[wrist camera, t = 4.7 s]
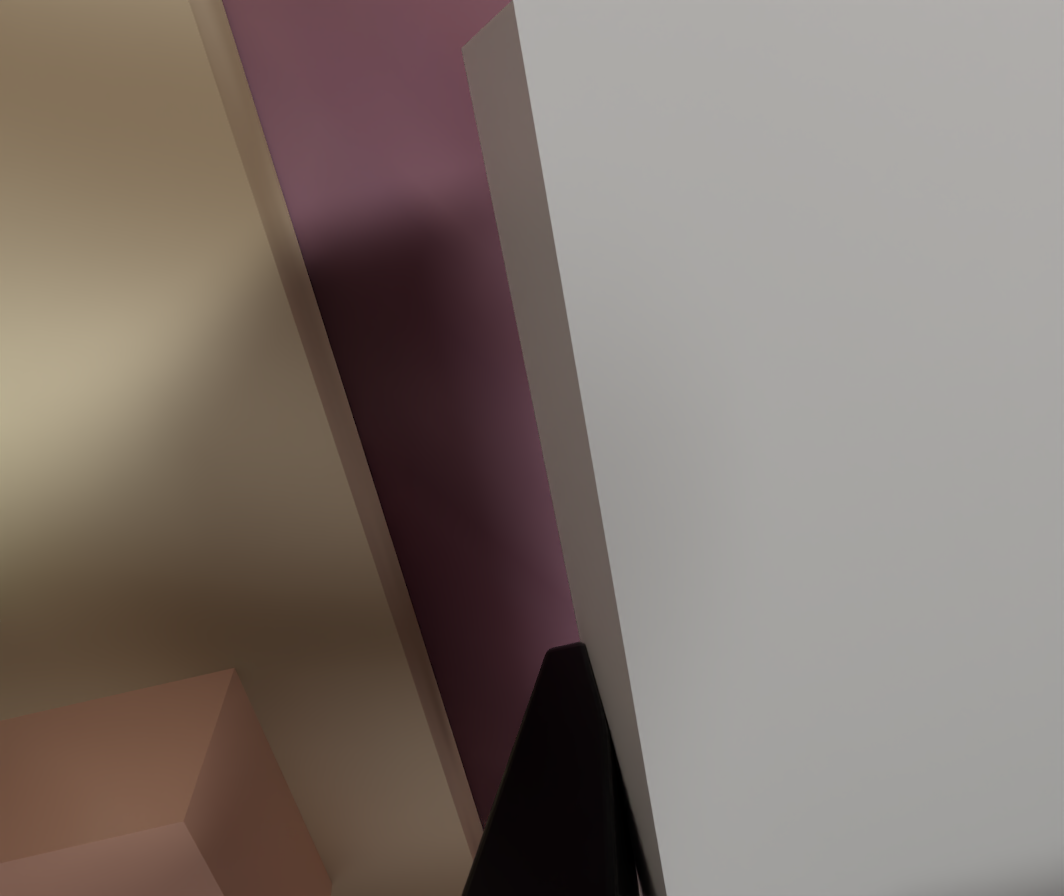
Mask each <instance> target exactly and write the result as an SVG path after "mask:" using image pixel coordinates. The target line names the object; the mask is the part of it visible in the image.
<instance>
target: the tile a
mask: <svg viewBox="0 0 1064 896" xmlns="http://www.w3.org/2000/svg"><path fill="white" fill-rule="evenodd" d="M331 890H332V882H331V880H330V878H329V875H328V873H327V871H326V869H325V866H324V864H323V862H322V860H321V858H320V855H319V853H318V851H317V849H316V847H315V844H314V842H313V840H312V838H311V836H310V833H309V831H308V829H307V827H306V824H305V822H304V820H303V818H302V816H301V813H300V811H299V809H298V807H297V805H296V802H295V800H294V798H293V796H292V793H291V791H290V789H289V787H288V785H287V782H286V780H285V778H284V776H283V774H282V771H281V769H280V767H279V765H278V763H277V760H276V758H275V756H274V754H273V751H272V749H271V747H270V745H269V743H268V740H267V738H266V736H265V734H264V732H263V729H262V727H261V725H260V723H259V720H258V718H257V716H256V714H255V712H254V709H253V707H252V705H251V703H250V701H249V698H248V696H247V694H246V692H245V690H244V687H243V685H242V683H241V681H240V678H239V676H238V674H237V672H236V670H235V668H231V669H227V670H223V671H218V672H214V673H209V674H205V675H200V676H196V677H192V678H187V679H183V680H178V681H174V682H169V683H165V684H161V685H156V686H152V687H147V688H143V689H138V690H134V691H130V692H125V693H121V694H116V695H112V696H107V697H103V698H99V699H94V700H90V701H85V702H81V703H76V704H72V705H68V706H63V707H59V708H54V709H50V710H45V711H41V712H37V713H32V714H28V715H23V716H19V717H14V718H10V719H6V720H1V721H0V896H331Z"/></svg>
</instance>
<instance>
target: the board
mask: <svg viewBox="0 0 1064 896" xmlns="http://www.w3.org/2000/svg"><path fill="white" fill-rule="evenodd" d="M231 668H235V670H236V672H237V674H238V676H239V678H240V681H241V683H242V685H243V687H244V690H245V692H246V694H247V696H248V698H249V701H250V703H251V705H252V707H253V709H254V712H255V714H256V716H257V718H258V720H259V723H260V725H261V727H262V729H263V732H264V734H265V736H266V738H267V740H268V743H269V745H270V747H271V749H272V751H273V754H274V756H275V758H276V760H277V763H278V765H279V767H280V769H281V771H282V774H283V776H284V778H285V780H286V782H287V785H288V787H289V789H290V791H291V793H292V796H293V798H294V800H295V802H296V805H297V807H298V809H299V811H300V813H301V816H302V818H303V820H304V822H305V824H306V827H307V829H308V831H309V833H310V836H311V838H312V840H313V842H314V844H315V847H316V849H317V851H318V853H319V855H320V858H321V860H322V862H323V864H324V866H325V869H326V871H327V873H328V875H329V878H330V880H331V882H332V890H331V896H461V895H462V892H463V889H464V886H465V883H466V880H467V877H468V875H469V872H470V869H471V866H472V863H473V860H474V857H475V854H476V852H477V849H478V846H479V843H480V840H481V837H482V834H483V828H482V825H481V822H480V819H479V816H478V813H477V809H476V806H475V803H474V800H473V797H472V793H471V790H470V787H469V784H468V781H467V778H466V774H465V771H464V768H463V765H462V762H461V759H460V755H459V752H458V749H457V746H456V743H455V739H454V736H453V733H452V730H451V727H450V724H449V720H448V717H447V714H446V711H445V708H444V705H443V701H442V698H441V695H440V692H439V689H438V686H437V682H436V679H435V676H434V673H433V670H432V666H431V663H430V660H429V657H428V654H427V651H426V647H425V644H424V641H423V638H422V635H421V632H420V628H419V625H418V622H417V619H416V616H415V613H414V609H413V606H412V603H411V600H410V597H409V593H408V590H407V587H406V584H405V581H404V578H403V574H402V571H401V568H400V565H399V562H398V559H397V555H396V552H395V549H394V546H393V543H392V540H391V536H390V533H389V530H388V527H387V524H386V520H385V517H384V514H383V511H382V508H381V505H380V501H379V498H378V495H377V492H376V489H375V486H374V482H373V479H372V476H371V473H370V470H369V466H368V463H367V460H366V457H365V454H364V451H363V447H362V444H361V441H360V438H359V435H358V432H357V428H356V425H355V422H354V419H353V416H352V413H351V409H350V406H349V403H348V400H347V397H346V393H345V390H344V387H343V384H342V381H341V378H340V374H339V371H338V368H337V365H336V362H335V359H334V355H333V352H332V349H331V346H330V343H329V340H328V336H327V333H326V330H325V327H324V324H323V320H322V317H321V314H320V311H319V308H318V305H317V301H316V298H315V295H314V292H313V289H312V286H311V282H310V279H309V276H308V273H307V270H306V267H305V263H304V260H303V257H302V254H301V251H300V247H299V244H298V241H297V238H296V235H295V232H294V228H293V225H292V222H291V219H290V216H289V213H288V209H287V206H286V203H285V200H284V197H283V194H282V190H281V187H280V184H279V181H278V178H277V174H276V171H275V168H274V165H273V162H272V159H271V155H270V152H269V149H268V146H267V143H266V140H265V136H264V133H263V130H262V127H261V124H260V120H259V117H258V114H257V111H256V108H255V105H254V101H253V98H252V95H251V92H250V89H249V86H248V82H247V79H246V76H245V73H244V70H243V67H242V63H241V60H240V57H239V54H238V51H237V47H236V44H235V41H234V38H233V35H232V32H231V28H230V25H229V22H228V19H227V16H226V13H225V9H224V6H223V3H222V0H0V721H1V720H6V719H10V718H14V717H19V716H23V715H28V714H32V713H37V712H41V711H45V710H50V709H54V708H59V707H63V706H68V705H72V704H76V703H81V702H85V701H90V700H94V699H99V698H103V697H107V696H112V695H116V694H121V693H125V692H130V691H134V690H138V689H143V688H147V687H152V686H156V685H161V684H165V683H169V682H174V681H178V680H183V679H187V678H192V677H196V676H200V675H205V674H209V673H214V672H218V671H223V670H227V669H231Z"/></svg>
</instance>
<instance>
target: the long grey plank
mask: <svg viewBox="0 0 1064 896" xmlns="http://www.w3.org/2000/svg"><path fill="white" fill-rule="evenodd" d="M461 50H462V55H463V60H464V65H465V70H466V75H467V80H468V84H469V89H470V94H471V99H472V104H473V109H474V114H475V119H476V124H477V129H478V134H479V139H480V144H481V149H482V154H483V159H484V164H485V169H486V174H487V179H488V184H489V189H490V194H491V199H492V204H493V209H494V214H495V219H496V224H497V229H498V234H499V239H500V244H501V249H502V254H503V259H504V264H505V269H506V274H507V279H508V284H509V289H510V294H511V299H512V304H513V309H514V314H515V319H516V324H517V329H518V334H519V339H520V343H521V348H522V353H523V358H524V363H525V368H526V373H527V378H528V383H529V388H530V393H531V398H532V403H533V408H534V413H535V418H536V423H537V428H538V433H539V438H540V443H541V448H542V453H543V458H544V463H545V468H546V473H547V478H548V483H549V488H550V493H551V498H552V503H553V508H554V513H555V518H556V523H557V528H558V533H559V538H560V543H561V548H562V553H563V558H564V563H565V568H566V573H567V578H568V583H569V588H570V593H571V598H572V602H573V607H574V612H575V617H576V622H577V627H578V632H579V637H580V642H582V643H584V644H585V645H586V648H587V651H588V655H589V658H590V662H591V665H592V669H593V672H594V676H595V679H596V683H597V686H598V690H599V693H600V697H601V700H602V704H603V707H604V711H605V714H606V718H607V722H608V725H609V730H610V735H611V740H612V745H613V751H614V756H615V761H616V766H617V771H618V777H619V782H620V787H621V792H622V797H623V802H624V808H625V813H626V818H627V823H628V828H629V834H630V839H631V844H632V849H633V854H634V860H635V865H636V871H637V878H638V884H639V893H640V896H1064V0H512V1H511V2H510V3H509V4H508V5H507V6H506V7H504V8H503V9H502V10H501V11H500V12H499V13H498V14H497V15H496V16H495V17H494V18H493V19H492V20H491V21H490V22H489V23H488V24H486V25H485V26H484V27H483V28H482V29H481V30H480V31H479V32H478V33H477V34H476V35H475V36H474V37H473V38H472V39H471V40H470V41H469V42H467V43H466V44H465V45H464V46H463V47H462V48H461Z"/></svg>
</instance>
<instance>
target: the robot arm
mask: <svg viewBox="0 0 1064 896" xmlns="http://www.w3.org/2000/svg"><path fill="white" fill-rule="evenodd" d="M461 896H640V893H639V884H638V878H637V871H636V865H635V860H634V854H633V849H632V844H631V839H630V834H629V828H628V823H627V818H626V813H625V808H624V802H623V797H622V792H621V787H620V782H619V777H618V771H617V766H616V761H615V756H614V751H613V745H612V740H611V735H610V730H609V725H608V722H607V718H606V714H605V711H604V707H603V704H602V700H601V697H600V693H599V690H598V686H597V683H596V679H595V676H594V672H593V669H592V665H591V662H590V658H589V655H588V651H587V648H586V645H585V644H584V643H582V642H576V643H572V644H567V645H563V646H558V647H554V648H551V649H549V650H548V651H547V652H546V654H545V657H544V659H543V662H542V665H541V668H540V671H539V674H538V677H537V680H536V682H535V685H534V688H533V691H532V694H531V697H530V700H529V702H528V705H527V708H526V711H525V714H524V717H523V720H522V723H521V725H520V728H519V731H518V734H517V737H516V740H515V743H514V745H513V748H512V751H511V754H510V757H509V760H508V763H507V766H506V768H505V771H504V774H503V777H502V780H501V783H500V786H499V788H498V791H497V794H496V797H495V800H494V803H493V806H492V809H491V811H490V814H489V817H488V820H487V823H486V826H485V829H484V832H483V834H482V837H481V840H480V843H479V846H478V849H477V852H476V854H475V857H474V860H473V863H472V866H471V869H470V872H469V875H468V877H467V880H466V883H465V886H464V889H463V892H462V895H461Z"/></svg>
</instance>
